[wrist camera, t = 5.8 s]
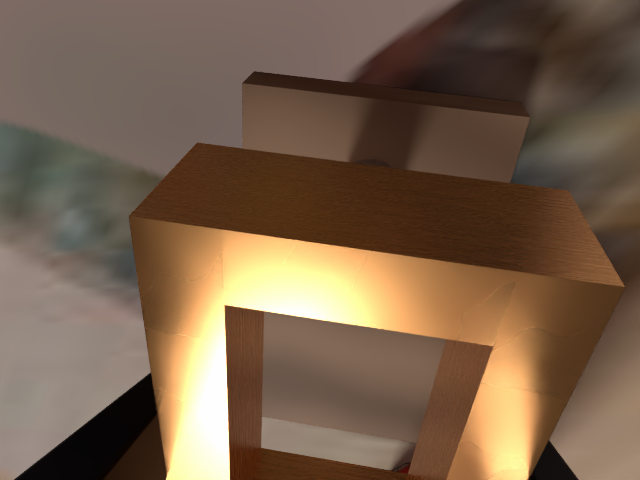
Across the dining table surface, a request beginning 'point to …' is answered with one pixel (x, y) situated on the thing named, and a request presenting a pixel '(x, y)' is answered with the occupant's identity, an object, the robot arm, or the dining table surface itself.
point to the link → (364, 303)
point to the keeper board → (399, 152)
